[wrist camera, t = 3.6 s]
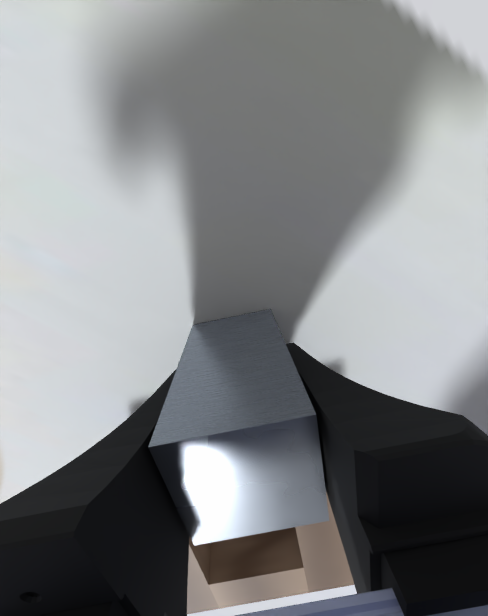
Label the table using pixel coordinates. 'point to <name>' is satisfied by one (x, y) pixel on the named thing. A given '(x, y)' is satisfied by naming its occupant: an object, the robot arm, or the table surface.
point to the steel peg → (239, 434)
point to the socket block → (266, 566)
